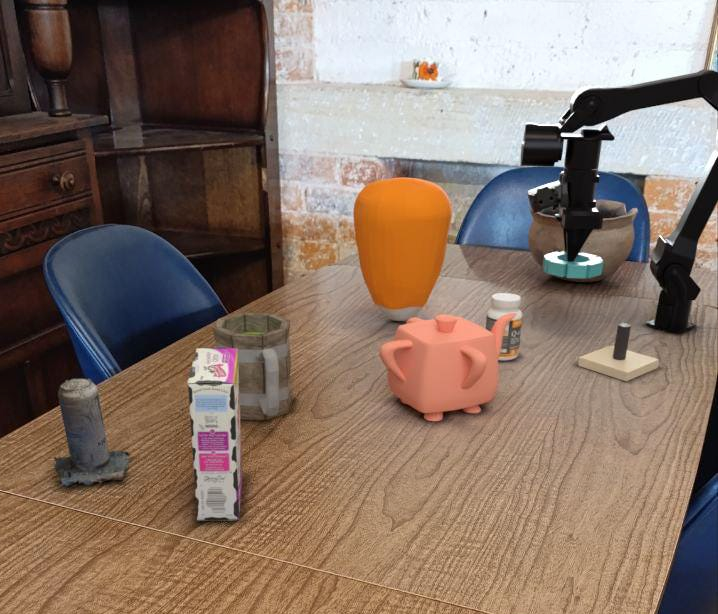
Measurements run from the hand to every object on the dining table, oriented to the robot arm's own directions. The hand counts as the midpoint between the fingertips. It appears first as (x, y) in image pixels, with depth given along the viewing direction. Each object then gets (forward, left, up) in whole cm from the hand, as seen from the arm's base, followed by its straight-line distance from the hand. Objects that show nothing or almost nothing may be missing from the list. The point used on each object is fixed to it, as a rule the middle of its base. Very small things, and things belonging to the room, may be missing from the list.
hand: (569, 259), depth 156 cm
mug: (+67, -2, -12) cm, 68 cm away
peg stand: (+13, +20, -11) cm, 26 cm away
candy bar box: (+85, +15, -12) cm, 87 cm away
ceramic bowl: (-27, -16, -12) cm, 34 cm away
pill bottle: (+23, +5, -12) cm, 26 cm away
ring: (+3, +3, -1) cm, 4 cm away
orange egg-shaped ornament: (+23, -19, -12) cm, 32 cm away
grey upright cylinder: (+93, 0, -12) cm, 94 cm away
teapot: (+45, +13, -12) cm, 48 cm away
